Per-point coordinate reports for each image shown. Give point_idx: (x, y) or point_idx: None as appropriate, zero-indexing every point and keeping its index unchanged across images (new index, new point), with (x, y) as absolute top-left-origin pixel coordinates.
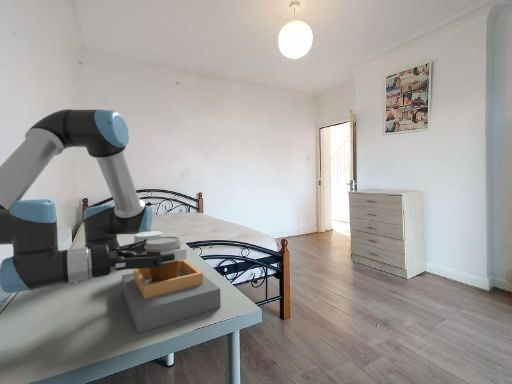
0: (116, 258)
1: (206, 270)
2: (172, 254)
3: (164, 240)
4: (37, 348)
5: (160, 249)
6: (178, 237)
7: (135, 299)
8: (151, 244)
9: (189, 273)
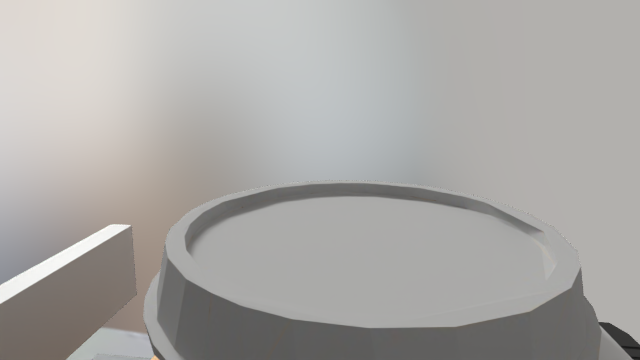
0: None
1: (141, 348)
2: (613, 332)
3: (342, 229)
4: None
5: (599, 335)
6: (365, 181)
7: None
8: (540, 319)
9: None
